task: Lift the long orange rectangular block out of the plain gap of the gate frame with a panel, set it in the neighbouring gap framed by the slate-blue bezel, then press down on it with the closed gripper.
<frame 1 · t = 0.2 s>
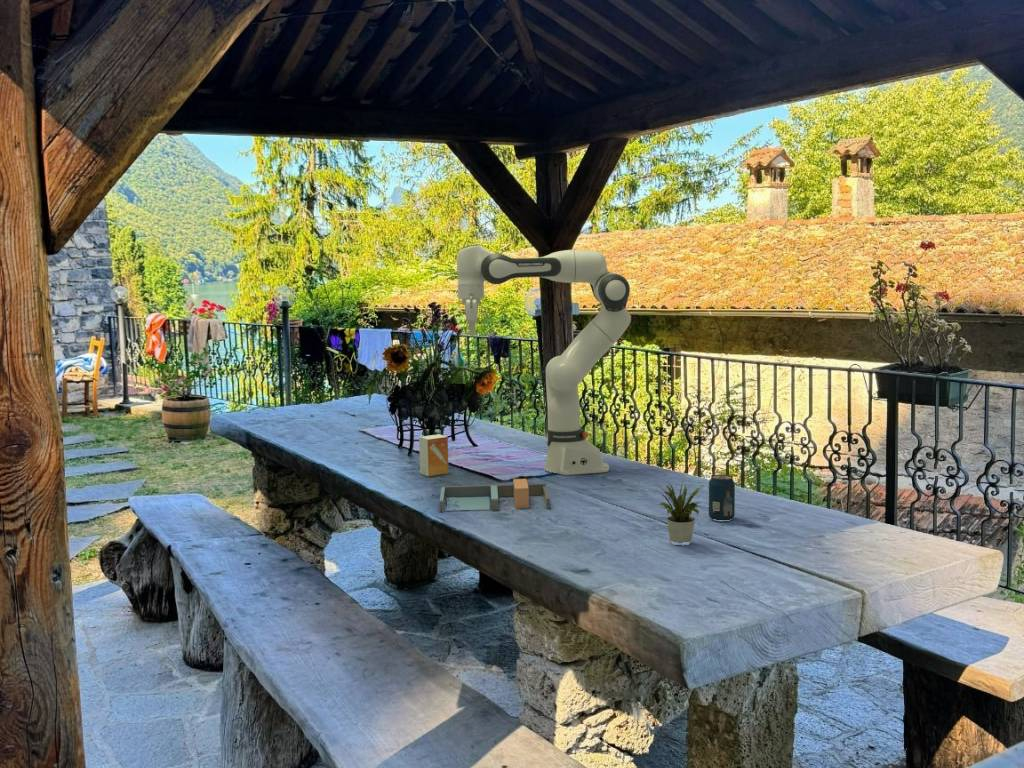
hand: (472, 334, 313), 48 cm above the table, tool pointing down, fingers open, 8 cm apart
gate frame with panel: (494, 503, 277), on the table
house plant: (675, 543, 234), on the table
long orange rectangular block: (521, 503, 277), on the table
small box: (434, 474, 319), on the table
soda can: (721, 520, 254), on the table
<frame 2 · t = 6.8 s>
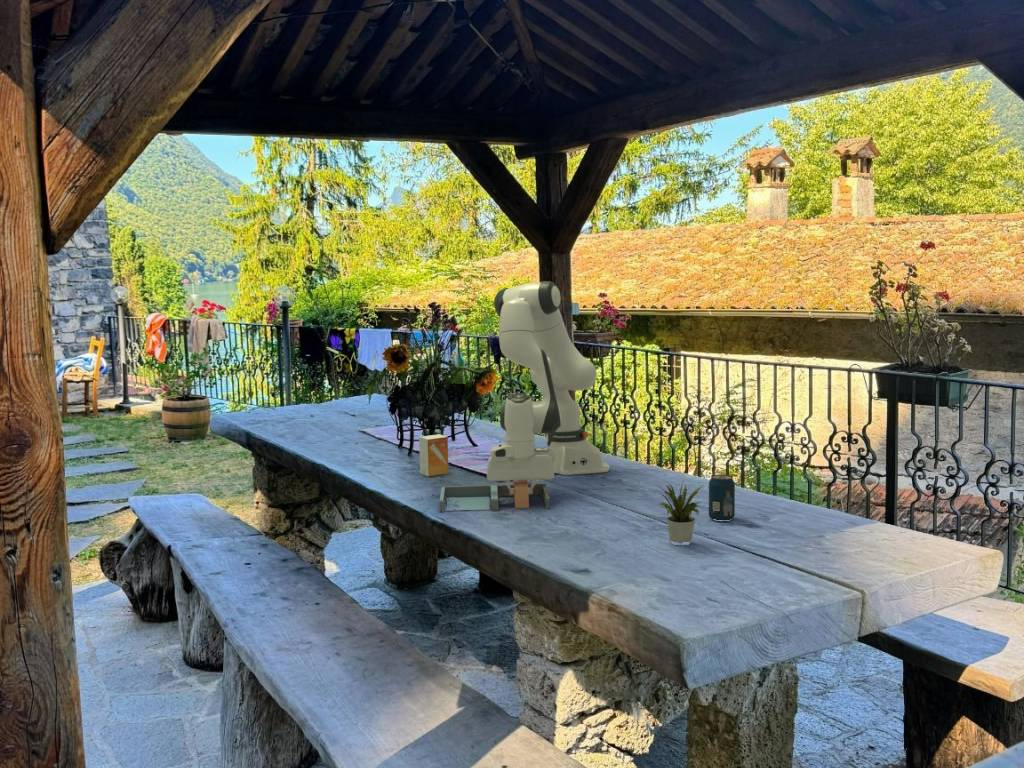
hand: (521, 494, 277), 3 cm above the table, tool pointing down, fingers closed on long orange rectangular block, 4 cm apart
long orange rectangular block: (521, 502, 277), on the table, touching gripper
everything else where it was.
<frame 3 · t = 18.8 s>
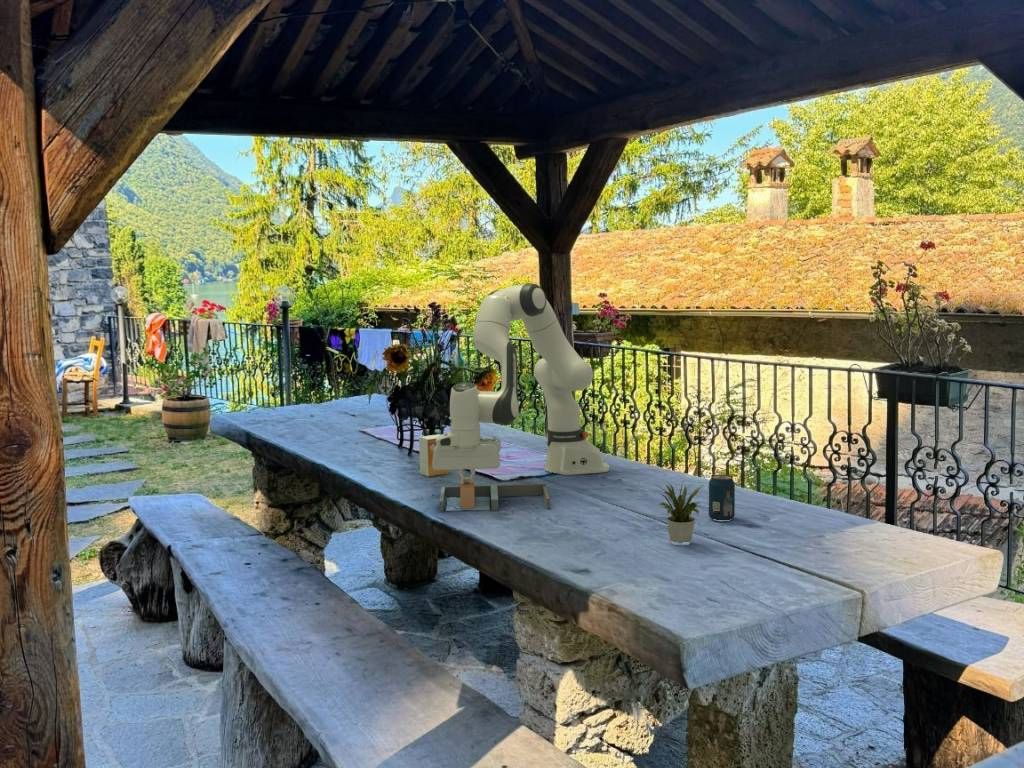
hand: (467, 483, 276), 6 cm above the table, tool pointing down, fingers closed, pressing on long orange rectangular block
long orange rectangular block: (467, 503, 277), resting on gate frame with panel, touching gripper
everything else where it was.
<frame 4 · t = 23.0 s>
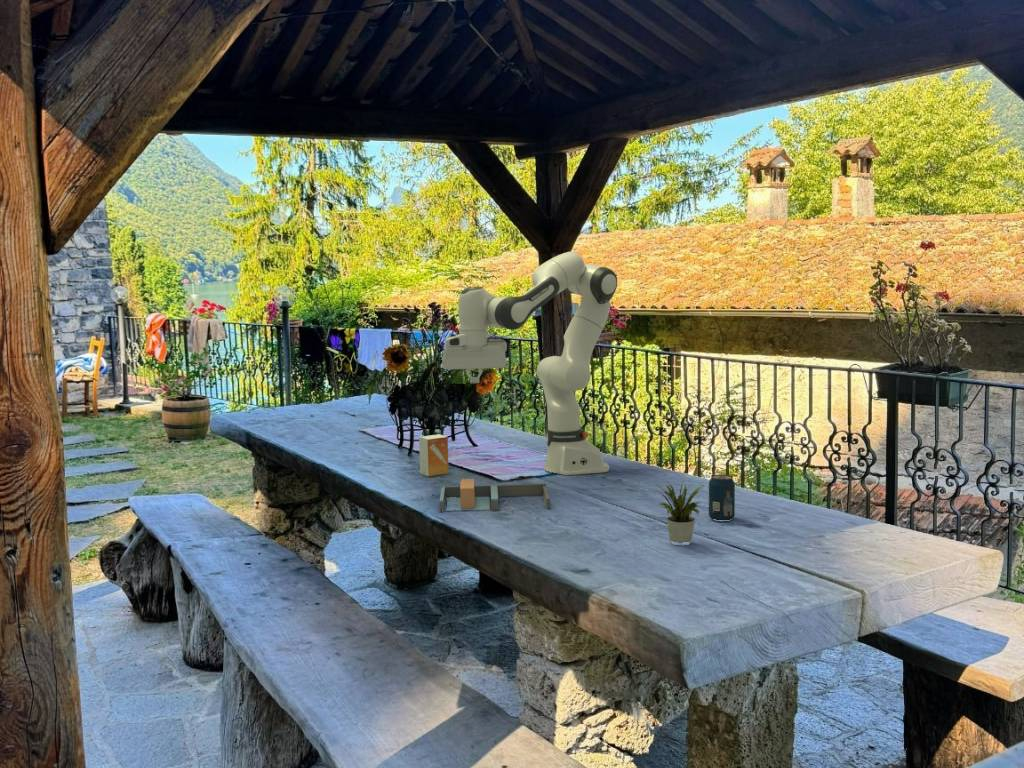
hand: (474, 383, 291), 34 cm above the table, tool pointing down, fingers closed
long orange rectangular block: (467, 503, 277), resting on gate frame with panel
everything else where it was.
at the end: long orange rectangular block 0.0 cm from the target spot on the gate frame with panel, point 0.3 cm above the gate frame with panel's base; long orange rectangular block tilted 0°; the gripper is holding nothing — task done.
